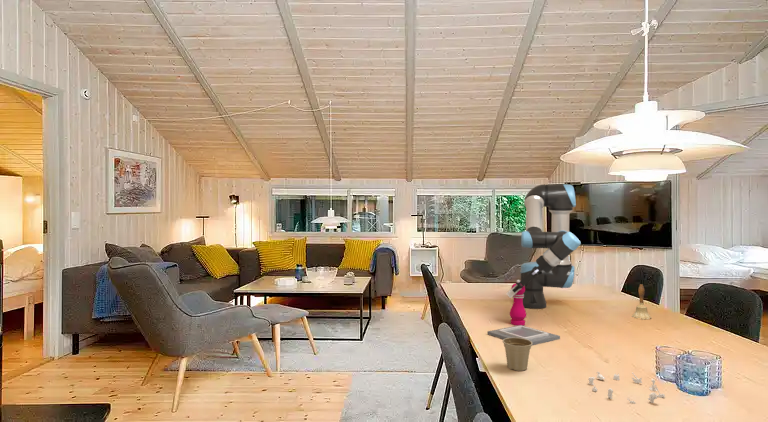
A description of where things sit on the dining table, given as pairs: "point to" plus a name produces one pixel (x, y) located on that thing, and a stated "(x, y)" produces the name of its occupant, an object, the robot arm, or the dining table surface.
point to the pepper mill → (518, 307)
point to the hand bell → (641, 306)
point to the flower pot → (517, 353)
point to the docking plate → (524, 334)
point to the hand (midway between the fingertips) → (510, 294)
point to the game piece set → (616, 377)
